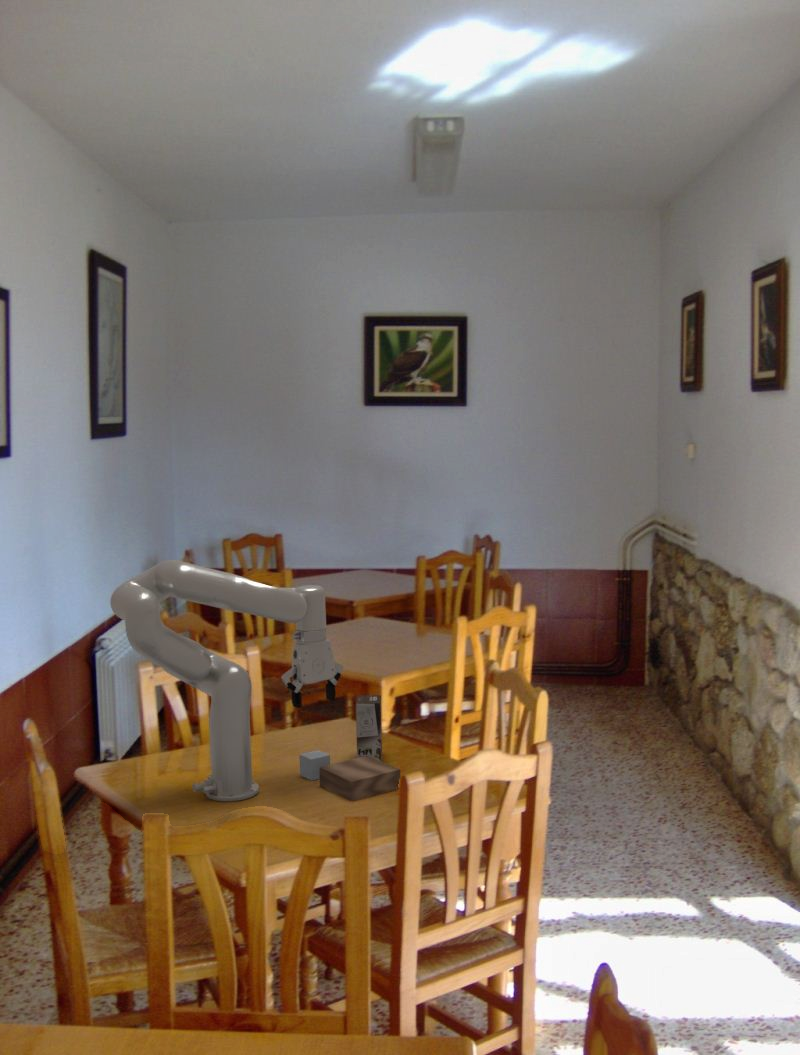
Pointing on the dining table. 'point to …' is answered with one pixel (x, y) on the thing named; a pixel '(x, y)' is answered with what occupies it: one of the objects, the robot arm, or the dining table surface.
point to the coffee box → (369, 726)
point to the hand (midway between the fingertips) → (314, 703)
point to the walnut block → (359, 777)
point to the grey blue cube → (313, 764)
